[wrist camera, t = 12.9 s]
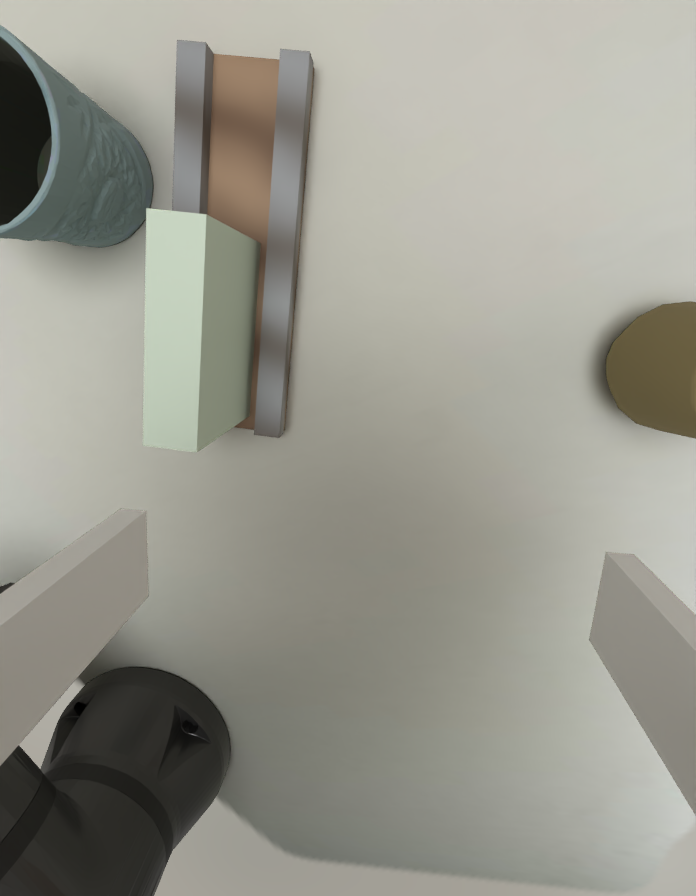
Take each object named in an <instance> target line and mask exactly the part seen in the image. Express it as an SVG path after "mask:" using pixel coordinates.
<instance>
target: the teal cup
mask: <svg viewBox="0 0 696 896" xmlns="http://www.w3.org/2000/svg"><path fill="white" fill-rule="evenodd" d="M152 191H153V182H152V174H151V169H150V166H149V163H148V160H147V158H146V155H145V153H144V151H143V149H142V148H141V146H140V144H139V142H138V141H137V140H136V138H135V137H134V136H133V135H132V134H131V133H130V131H128V130H127V129H126V128H125V127H124V126H123V125H122V124H120V123H119V122H118V121H116V120H115V119H114V118H112V117H111V116H110V115H108V114H107V113H106V112H105V111H104V110H103V109H101V108H100V107H99V106H98V105H97V104H96V103H95V102H93V101H92V100H91V99H90V98H89V97H87V96H86V95H85V94H83V93H81V92H80V91H79V90H78V89H77V88H76V87H75V86H74V85H73V84H72V83H71V82H69V81H68V80H67V79H66V78H65V77H63V76H62V75H61V74H60V73H58V72H57V71H56V70H55V69H53V68H52V67H51V66H50V65H48V64H47V63H46V62H45V61H44V60H43V59H42V58H40V57H39V56H38V55H37V54H36V53H35V52H33V51H32V50H31V49H30V48H29V47H27V46H26V45H25V44H24V43H23V42H21V41H20V40H19V39H18V38H17V37H15V36H14V35H13V34H12V33H11V32H9V31H8V30H7V29H5V28H4V27H2V26H1V25H0V238H12V239H21V240H27V241H31V240H36V239H37V240H41V241H50V240H54V241H59V242H66V243H68V244H72V245H77V246H89V247H106V246H111V245H114V244H117V243H120V242H121V241H123V240H125V239H126V238H128V237H129V236H130V235H131V234H133V233H134V232H135V230H136V229H138V228H139V226H140V224H142V223H143V221H144V220H145V218H146V208H150V205H151V200H152Z"/></svg>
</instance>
